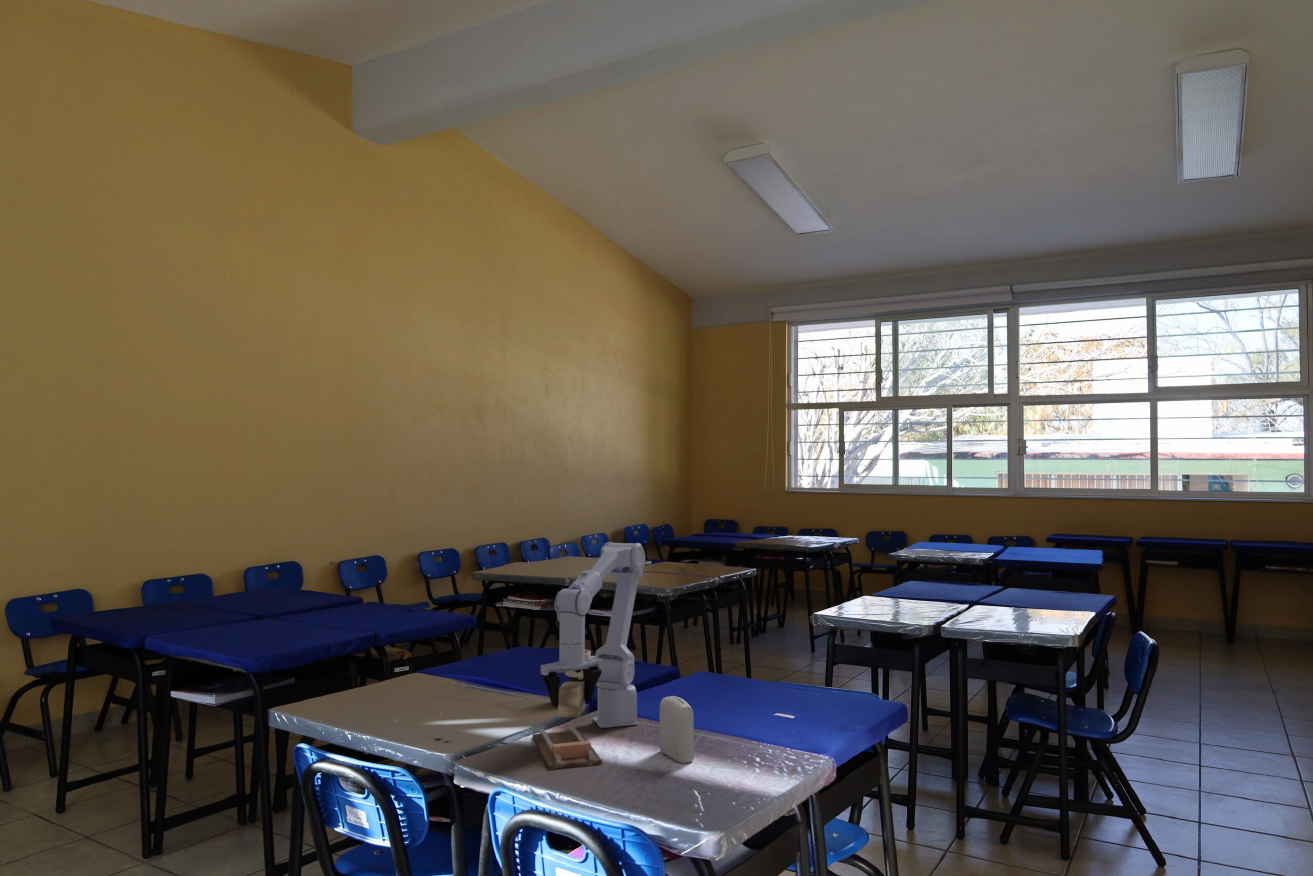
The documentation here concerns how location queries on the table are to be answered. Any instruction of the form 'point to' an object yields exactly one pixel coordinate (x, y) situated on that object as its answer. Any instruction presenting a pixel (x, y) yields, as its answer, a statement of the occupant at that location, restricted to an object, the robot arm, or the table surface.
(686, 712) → the photo printer
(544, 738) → the rail
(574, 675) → the character mug
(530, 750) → the table surface
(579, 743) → the tan wooden bar
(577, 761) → the mounting board
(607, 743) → the table surface
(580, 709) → the block
